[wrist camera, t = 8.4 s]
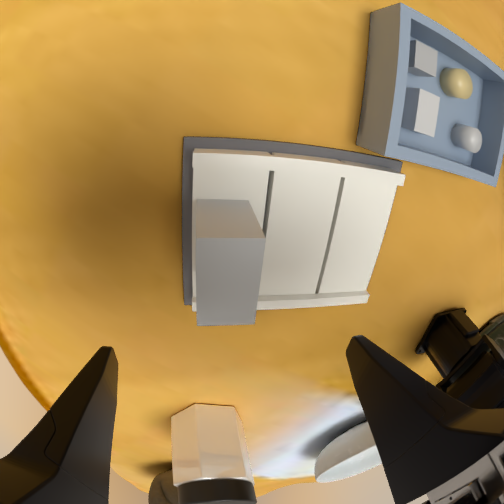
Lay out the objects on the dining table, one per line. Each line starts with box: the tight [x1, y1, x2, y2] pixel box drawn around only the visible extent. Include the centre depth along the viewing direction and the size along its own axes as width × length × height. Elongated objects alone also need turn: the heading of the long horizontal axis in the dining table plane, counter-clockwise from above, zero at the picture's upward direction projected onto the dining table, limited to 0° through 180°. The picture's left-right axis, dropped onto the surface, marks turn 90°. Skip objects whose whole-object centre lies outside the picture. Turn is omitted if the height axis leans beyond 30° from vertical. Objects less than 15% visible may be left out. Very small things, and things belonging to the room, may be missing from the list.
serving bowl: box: [315, 421, 382, 483], centre depth 40 cm, size 21×21×7 cm
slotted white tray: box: [192, 148, 405, 326], centre depth 17 cm, size 11×14×6 cm
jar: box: [171, 403, 257, 504], centre depth 26 cm, size 9×8×12 cm
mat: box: [182, 137, 402, 305], centre depth 20 cm, size 12×15×1 cm
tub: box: [356, 3, 504, 187], centre depth 15 cm, size 10×13×4 cm
